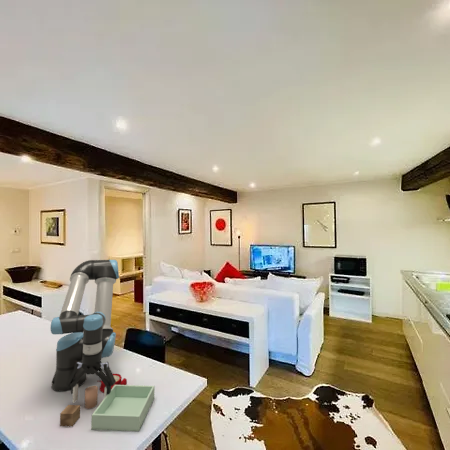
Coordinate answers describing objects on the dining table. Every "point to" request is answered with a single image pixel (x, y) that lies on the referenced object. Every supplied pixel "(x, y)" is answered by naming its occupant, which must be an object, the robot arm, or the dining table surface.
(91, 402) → the terracotta canister
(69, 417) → the walnut cube
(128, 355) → the dining table surface
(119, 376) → the alarm clock
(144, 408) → the tray
